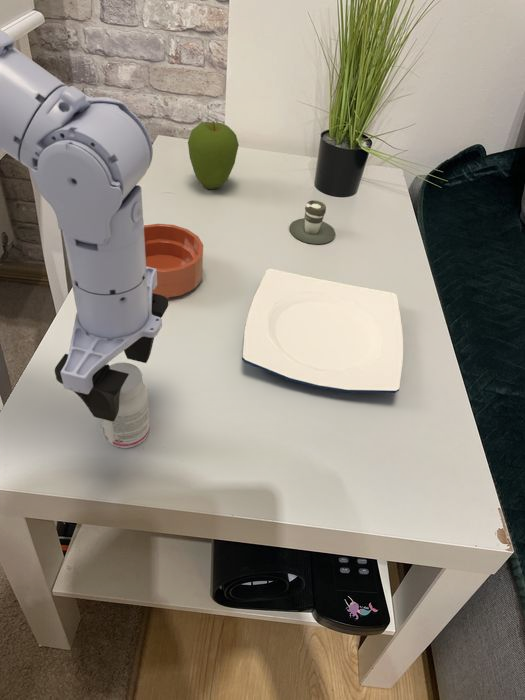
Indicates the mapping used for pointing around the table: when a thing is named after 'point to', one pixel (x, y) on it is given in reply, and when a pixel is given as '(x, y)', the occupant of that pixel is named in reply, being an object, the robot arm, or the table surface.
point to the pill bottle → (129, 410)
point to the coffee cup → (313, 225)
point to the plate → (325, 334)
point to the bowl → (173, 258)
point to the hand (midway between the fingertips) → (122, 386)
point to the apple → (212, 153)
